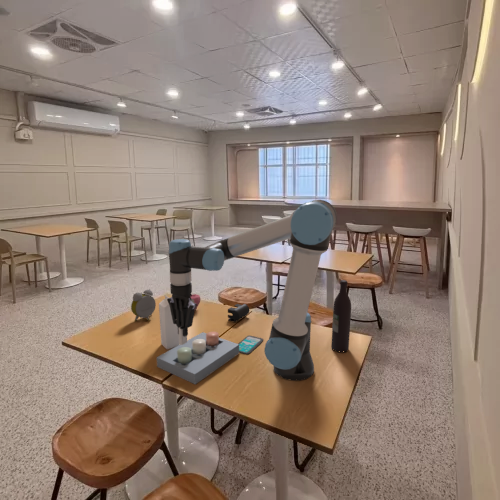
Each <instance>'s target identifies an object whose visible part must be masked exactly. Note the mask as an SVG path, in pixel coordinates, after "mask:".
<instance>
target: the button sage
mask: <svg viewBox="0 0 500 500" xmlns="http://www.w3.org/2000/svg"><path fill="white" fill-rule="evenodd" d="M177 356H178V362H179V363H180V364H187V363H189V362H191V361H192V353H191V348H189V347H182V348H179V349H178V350H177Z"/></svg>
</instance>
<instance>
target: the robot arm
mask: <svg viewBox="0 0 500 500" xmlns="http://www.w3.org/2000/svg"><path fill="white" fill-rule="evenodd" d="M337 220H338V215H337V211H336V209H335V207H334V206H333V204H331V203H330V201H329V202H328V201H326V200H324V199H314V200H310V201H307V202H304V203H302V204H301V205H299V207H297V208H296V209H295V210H293V211H292V212H291V214H290V215H287V216H284V217H282V218H279V219H276V220H274V221H271V222H268V223H266V224H265V223H264V224H262V225H261V226H257V227H254V228H252V229H250V230H249V229H248V230H246V231H244V232H241V233H238V234H235V235H233V236H230V237H228V238H224V239H220V240H218V241H216V242H214V243H212V244H210V245H207V246H204V247H203V246H201V247H199V246H192V243H191V240H189V239H184V238H183V239H182V238H181V239H180V238H177V239H172V240H170V242H169V243H168V261H169V282H170V285H169V286H170V294H171V297H169V298H168V299H167V301H168V303H169V306H170V310H171V315H172V320H173V324H176V325H177V327H178V334H179V344H181V345H183V344H185V343H187V340H188V336H189V329H188V328H190V327H192V326H193V322H194V316H195V311H196V310H195V308H196V306H197V304H196V303H193V302H192V301H191V296H190V294H192V292H193V285H192V269H196V270H203V271H209V272H210V271H211V272H212V271H216V272H217V271H220V270H221V269H222V268H223V266H224V264H225V261H227V260H230V259H233V258H237V257H239V256H242V255H245V254H247V253H251V252H254V251H257V250H260V249H263V248H266V247H269V246H271V245H274V244H277V243H281V242H283V241H287V240H289V244H290V245H291V247H292V253H291V256H290V257H291V258H290V261H289V267H288V271H287V276H286V281H285V286H284V289H283V294H282V295H283V296H282V300H281V304H280V309H279V313H278V317H276V318H275V319H273V320H272V323H271V324H272V325H271V329H270V333H269V338H268V340H266V342H265V345H264V355H265V358H266V359H267V360H268V362H269V363H270V364H271V365H272V366H273V372H274V373H275V374H276V375H277V376H278V377H280V378H282V379H284V380H288V381H293V382H294V381H296V382H297V381H304V380H307V379H309V378H311V376H313V374H314V372H315V363H314V360H313V358H312V355H311V327H312V326H311V325H312V316H311V314H310V313H309V307H310V302H311V298H312V295H313V291H314V286H315V282H316V277H317V273H318V268H319V265H320V260H321V256H322V255H323V254H324V253H326V252H328V250H329V245H330V240H331V236H332V232H333V229H334V228H335V226H336V224H337Z"/></svg>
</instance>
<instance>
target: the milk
mask: <svg viewBox="0 0 500 500" xmlns="http://www.w3.org/2000/svg"><path fill="white" fill-rule="evenodd" d="M168 298H170V297H169V296H167V295H164V299H162V300H161V301H160V302H159V303H158V309H159V310H158V311H159V325H160V326H159V327H160V345H162V346H163V347H164V348H165V349H166V350H171V349H173V348H175V347H176V346H178V345H180V344H179V334H178V327H177V325H176V324H173V320H172V315H171V310H170V306H169V303H168V301H167V299H168Z"/></svg>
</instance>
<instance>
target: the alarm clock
mask: <svg viewBox="0 0 500 500" xmlns="http://www.w3.org/2000/svg"><path fill="white" fill-rule="evenodd" d="M153 295H154V293H153V291H152V290H151V289H150V288H149V289H146V290H143V293H142V292H134V294H133V295H132V301H131V304H130V309H131V310H130V311H131V312H132V313H133V315H135V318H134V322H137V320H138V319H139V318H141V319H142V318H143V319H145V318H146V320H147V321H148V322H149V321H151V320H150V316H151V317H152V316H153V315H152V314H153V313H154V311H155V310H156V304H157V303H156V299H155V298H154V297H153Z"/></svg>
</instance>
